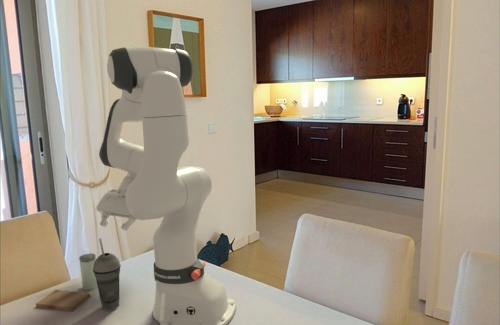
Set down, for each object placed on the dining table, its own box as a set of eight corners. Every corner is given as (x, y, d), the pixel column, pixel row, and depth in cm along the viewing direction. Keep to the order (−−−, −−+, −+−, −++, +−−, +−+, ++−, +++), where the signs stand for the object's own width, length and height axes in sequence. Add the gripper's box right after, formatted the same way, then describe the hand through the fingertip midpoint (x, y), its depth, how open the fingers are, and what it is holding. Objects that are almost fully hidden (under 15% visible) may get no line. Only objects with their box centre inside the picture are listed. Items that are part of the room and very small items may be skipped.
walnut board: (90, 296, 119) (90, 293, 119) (72, 311, 111) (72, 307, 111) (56, 292, 122) (55, 289, 122) (36, 306, 114) (35, 303, 114)
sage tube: (101, 284, 127) (98, 254, 125) (92, 291, 122) (89, 260, 120) (88, 282, 128) (85, 252, 126) (79, 289, 123) (75, 259, 122)
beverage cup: (115, 314, 109) (109, 244, 105) (91, 312, 110) (84, 243, 107) (129, 300, 116) (122, 234, 112) (106, 298, 117) (99, 233, 114)
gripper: (103, 184, 141) (84, 219, 134) (149, 189, 132) (131, 227, 125) (114, 193, 146) (96, 228, 139) (159, 198, 137) (141, 235, 130)
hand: (113, 227), depth 132 cm, fingers open, 8 cm apart
